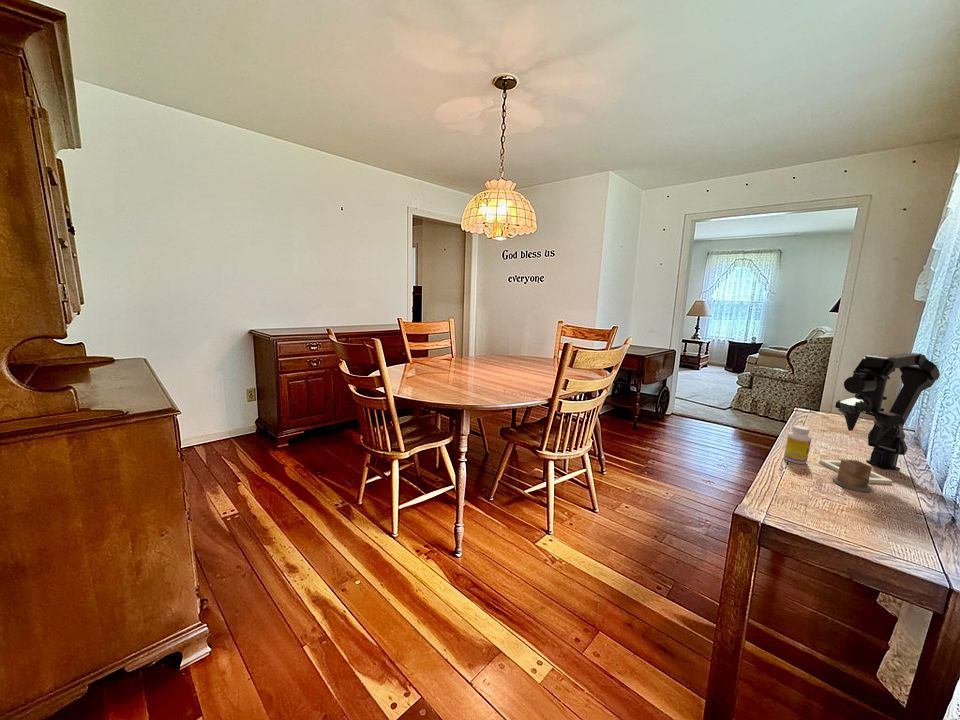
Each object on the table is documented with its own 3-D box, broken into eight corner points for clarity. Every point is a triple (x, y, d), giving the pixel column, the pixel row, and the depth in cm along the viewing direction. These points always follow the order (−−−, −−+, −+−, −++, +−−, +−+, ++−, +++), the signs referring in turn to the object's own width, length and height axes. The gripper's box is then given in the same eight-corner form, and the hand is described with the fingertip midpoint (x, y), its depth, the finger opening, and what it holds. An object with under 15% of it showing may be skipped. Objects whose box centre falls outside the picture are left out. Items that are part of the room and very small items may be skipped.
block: (852, 480, 126) (856, 460, 125) (867, 487, 121) (872, 466, 120) (836, 479, 126) (841, 459, 125) (851, 486, 121) (855, 466, 120)
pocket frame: (849, 464, 141) (850, 461, 141) (891, 484, 126) (892, 480, 126) (819, 462, 141) (819, 459, 141) (858, 482, 126) (858, 478, 126)
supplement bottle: (807, 466, 137) (814, 432, 135) (783, 461, 141) (790, 427, 139) (805, 460, 142) (812, 427, 140) (783, 455, 146) (789, 423, 144)
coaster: (852, 479, 128) (852, 477, 128) (879, 493, 119) (880, 491, 119) (825, 477, 128) (825, 476, 128) (850, 491, 119) (850, 489, 119)
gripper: (824, 384, 141) (816, 425, 144) (876, 398, 122) (865, 445, 125) (854, 385, 141) (846, 426, 144) (911, 399, 122) (900, 446, 125)
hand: (862, 435), depth 134 cm, fingers open, 9 cm apart
